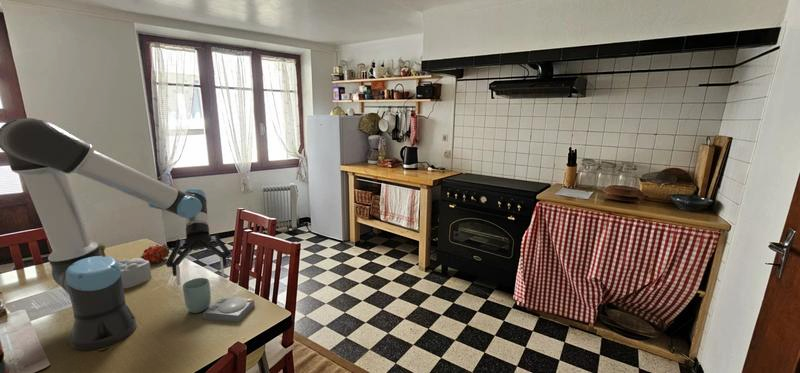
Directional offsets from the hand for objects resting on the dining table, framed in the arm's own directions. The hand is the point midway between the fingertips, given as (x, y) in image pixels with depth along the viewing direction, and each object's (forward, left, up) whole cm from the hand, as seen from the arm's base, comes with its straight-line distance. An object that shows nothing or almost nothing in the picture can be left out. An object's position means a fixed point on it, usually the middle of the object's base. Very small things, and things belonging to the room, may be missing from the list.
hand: (201, 279), depth 119 cm
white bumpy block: (+10, +39, -9) cm, 41 cm away
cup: (-4, -1, -9) cm, 10 cm away
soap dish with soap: (-4, -13, -9) cm, 16 cm away
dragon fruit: (+28, +43, -9) cm, 52 cm away
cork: (+19, +61, -9) cm, 64 cm away
